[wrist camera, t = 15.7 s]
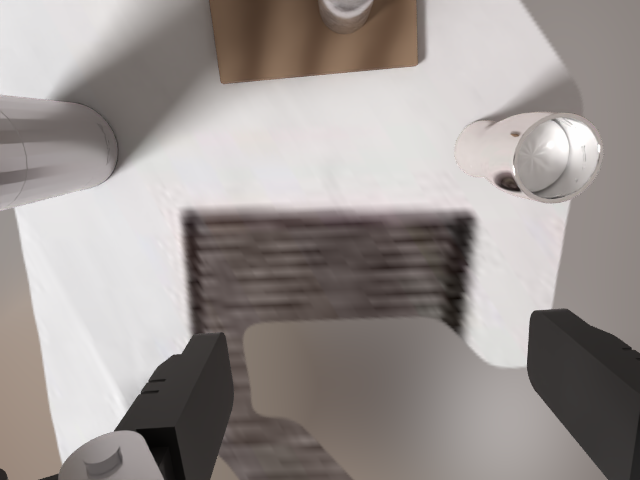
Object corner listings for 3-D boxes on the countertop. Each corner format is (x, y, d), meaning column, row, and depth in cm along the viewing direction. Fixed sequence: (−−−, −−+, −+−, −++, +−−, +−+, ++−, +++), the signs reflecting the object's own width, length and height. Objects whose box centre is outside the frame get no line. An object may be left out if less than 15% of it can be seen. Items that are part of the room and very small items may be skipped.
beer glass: (458, 110, 43) (525, 102, 29) (521, 121, 43) (620, 117, 29) (442, 176, 45) (499, 198, 31) (504, 185, 45) (588, 212, 31)
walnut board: (223, 83, 43) (220, 82, 42) (205, -48, 40) (201, -53, 38) (415, 66, 42) (417, 64, 41) (411, -69, 39) (414, -75, 38)
